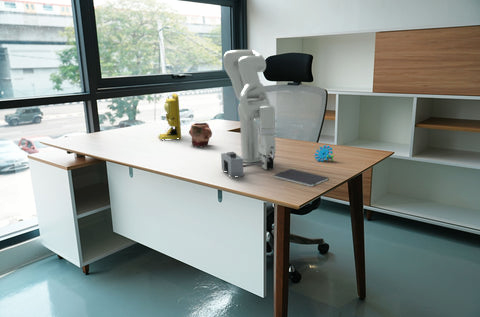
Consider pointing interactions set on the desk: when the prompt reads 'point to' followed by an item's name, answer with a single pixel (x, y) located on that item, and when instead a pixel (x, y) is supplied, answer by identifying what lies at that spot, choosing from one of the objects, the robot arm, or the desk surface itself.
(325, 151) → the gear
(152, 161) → the desk surface
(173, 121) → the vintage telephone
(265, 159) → the plug
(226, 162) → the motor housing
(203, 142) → the decorative planter
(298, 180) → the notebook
